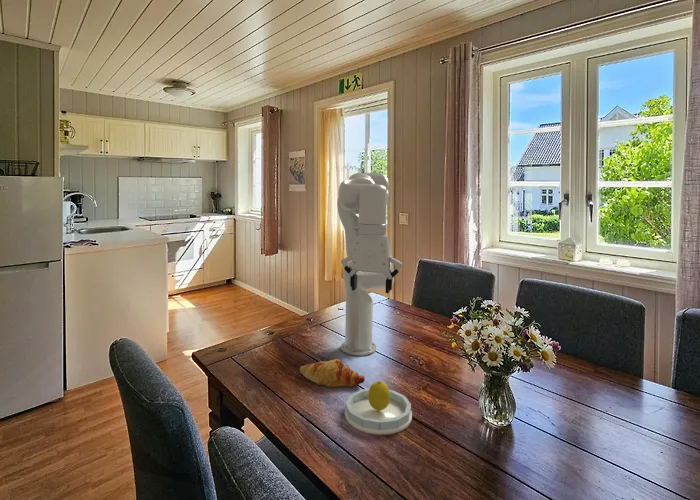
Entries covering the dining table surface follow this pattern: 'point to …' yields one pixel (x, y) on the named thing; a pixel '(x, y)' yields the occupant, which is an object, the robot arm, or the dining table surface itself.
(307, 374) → the croissant
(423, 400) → the dining table surface
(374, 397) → the lemon
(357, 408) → the dish
